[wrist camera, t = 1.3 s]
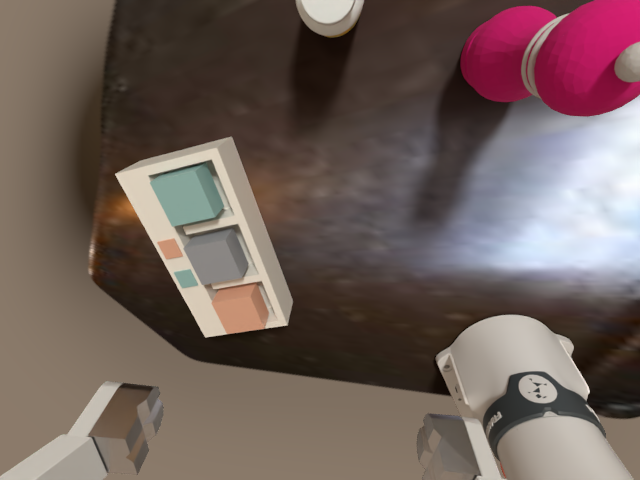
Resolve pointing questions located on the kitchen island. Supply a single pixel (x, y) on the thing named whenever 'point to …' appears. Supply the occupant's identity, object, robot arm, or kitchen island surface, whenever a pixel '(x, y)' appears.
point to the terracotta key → (241, 308)
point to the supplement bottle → (330, 15)
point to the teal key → (188, 194)
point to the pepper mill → (559, 57)
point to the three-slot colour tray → (234, 214)
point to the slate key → (216, 256)
